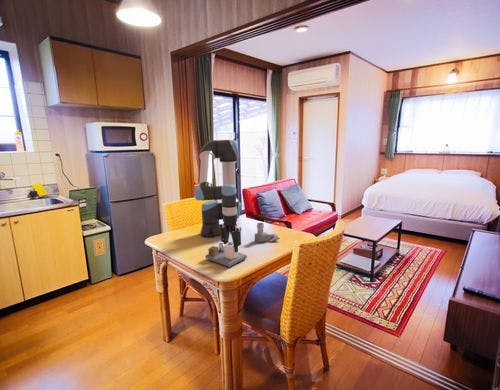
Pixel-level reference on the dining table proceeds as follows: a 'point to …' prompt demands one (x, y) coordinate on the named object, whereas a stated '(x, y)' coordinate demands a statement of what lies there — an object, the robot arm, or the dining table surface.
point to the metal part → (221, 247)
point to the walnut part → (213, 251)
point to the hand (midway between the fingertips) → (231, 256)
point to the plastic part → (229, 250)
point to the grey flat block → (226, 259)
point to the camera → (264, 235)
